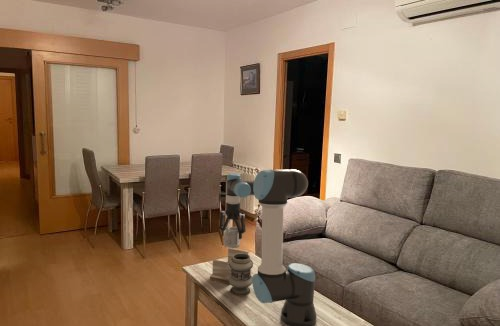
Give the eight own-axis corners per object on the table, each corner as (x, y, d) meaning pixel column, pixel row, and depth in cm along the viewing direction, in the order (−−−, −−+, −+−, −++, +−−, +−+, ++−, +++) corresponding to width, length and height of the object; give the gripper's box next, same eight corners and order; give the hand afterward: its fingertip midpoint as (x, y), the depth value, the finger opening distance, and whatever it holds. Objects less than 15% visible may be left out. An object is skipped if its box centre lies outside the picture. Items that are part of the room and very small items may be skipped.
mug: (243, 245, 196) (243, 224, 194) (228, 251, 187) (229, 229, 185) (232, 242, 200) (233, 221, 199) (218, 247, 191) (218, 226, 190)
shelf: (230, 284, 181) (231, 266, 180) (209, 279, 185) (210, 262, 184) (249, 265, 205) (250, 249, 204) (230, 261, 209) (231, 245, 208)
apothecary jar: (223, 289, 176) (224, 254, 173) (242, 282, 183) (243, 249, 181) (237, 299, 166) (239, 263, 164) (257, 292, 174) (259, 257, 172)
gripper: (253, 203, 190) (251, 244, 193) (219, 198, 197) (218, 238, 200) (248, 206, 183) (246, 248, 186) (212, 201, 190) (211, 242, 193)
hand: (231, 243), depth 193 cm, fingers closed on mug, 7 cm apart
